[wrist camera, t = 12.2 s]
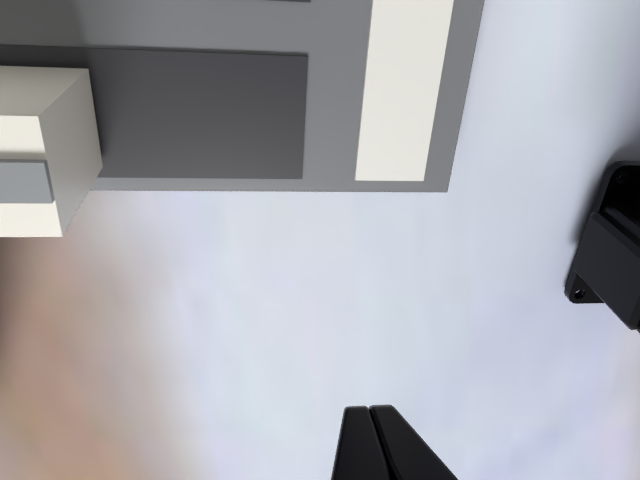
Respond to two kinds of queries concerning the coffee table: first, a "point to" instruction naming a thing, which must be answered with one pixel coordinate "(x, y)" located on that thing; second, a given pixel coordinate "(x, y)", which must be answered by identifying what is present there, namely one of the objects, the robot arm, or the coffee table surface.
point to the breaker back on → (45, 148)
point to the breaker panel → (261, 88)
